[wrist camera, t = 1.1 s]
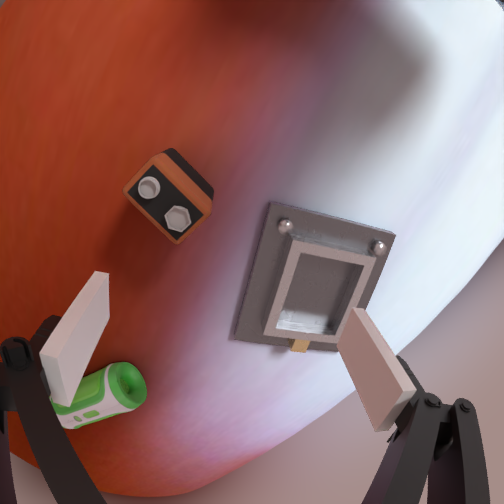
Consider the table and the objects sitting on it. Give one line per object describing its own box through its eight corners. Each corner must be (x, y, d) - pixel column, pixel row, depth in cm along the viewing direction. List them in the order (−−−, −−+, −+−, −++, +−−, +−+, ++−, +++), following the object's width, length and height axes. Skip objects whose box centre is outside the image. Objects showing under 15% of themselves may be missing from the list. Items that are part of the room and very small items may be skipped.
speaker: (82, 407, 46) (71, 439, 39) (53, 381, 44) (38, 412, 37) (152, 380, 44) (145, 418, 37) (121, 348, 41) (107, 385, 34)
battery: (187, 217, 35) (175, 252, 26) (144, 174, 33) (115, 194, 24) (216, 190, 34) (213, 216, 25) (172, 145, 32) (151, 154, 23)
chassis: (270, 201, 35) (274, 208, 32) (391, 231, 38) (403, 240, 35) (234, 333, 41) (235, 349, 39) (342, 346, 44) (349, 360, 41)
